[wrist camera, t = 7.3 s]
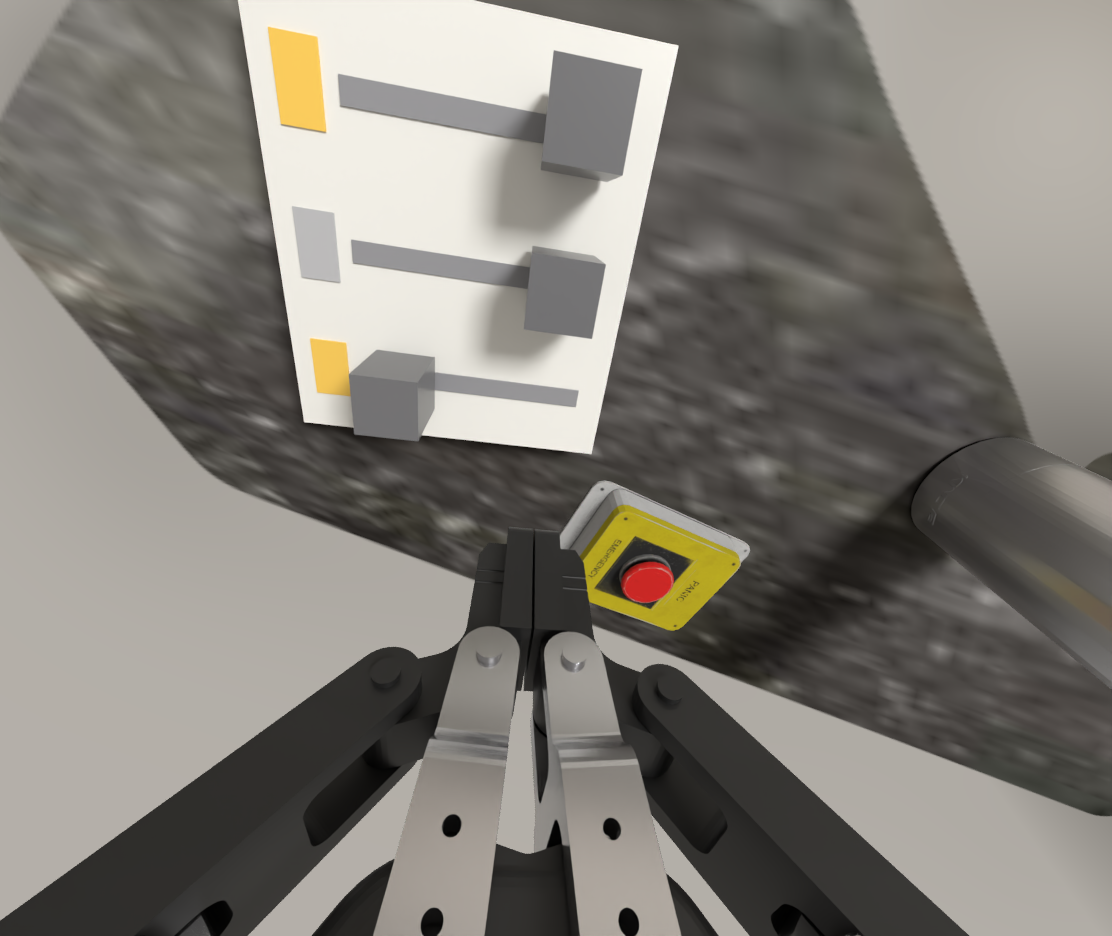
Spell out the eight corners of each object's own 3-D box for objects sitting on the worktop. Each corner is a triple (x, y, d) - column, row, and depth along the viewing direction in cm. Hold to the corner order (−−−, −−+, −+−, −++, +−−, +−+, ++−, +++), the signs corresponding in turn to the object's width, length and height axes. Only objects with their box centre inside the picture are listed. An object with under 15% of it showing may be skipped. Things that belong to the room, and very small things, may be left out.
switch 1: (435, 357, 23) (417, 382, 20) (434, 409, 25) (418, 441, 21) (376, 349, 23) (348, 374, 19) (379, 402, 24) (354, 434, 21)
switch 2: (621, 96, 18) (642, 69, 15) (607, 181, 19) (622, 175, 16) (550, 81, 18) (553, 50, 14) (540, 170, 19) (541, 161, 16)
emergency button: (606, 507, 28) (777, 580, 32) (598, 472, 32) (752, 542, 36) (540, 599, 32) (700, 654, 36) (540, 558, 36) (684, 612, 40)
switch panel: (660, 67, 20) (679, 45, 18) (586, 432, 30) (591, 454, 27) (272, -17, 18) (228, -55, 16) (325, 402, 28) (303, 422, 25)
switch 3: (594, 255, 21) (606, 264, 18) (583, 319, 22) (592, 339, 19) (532, 245, 21) (531, 252, 17) (525, 311, 22) (523, 329, 19)
